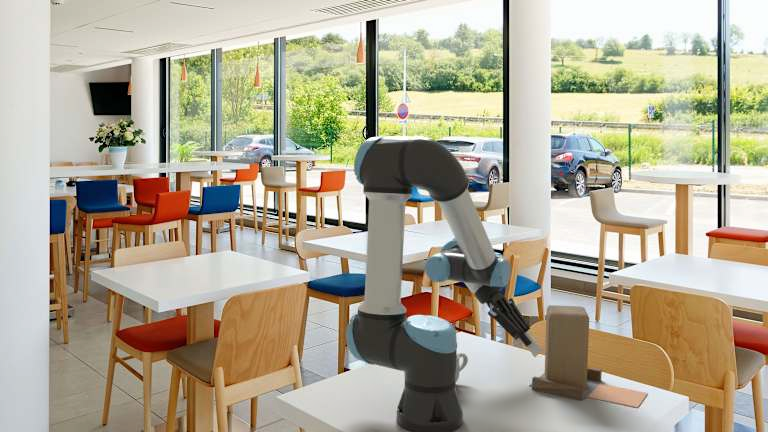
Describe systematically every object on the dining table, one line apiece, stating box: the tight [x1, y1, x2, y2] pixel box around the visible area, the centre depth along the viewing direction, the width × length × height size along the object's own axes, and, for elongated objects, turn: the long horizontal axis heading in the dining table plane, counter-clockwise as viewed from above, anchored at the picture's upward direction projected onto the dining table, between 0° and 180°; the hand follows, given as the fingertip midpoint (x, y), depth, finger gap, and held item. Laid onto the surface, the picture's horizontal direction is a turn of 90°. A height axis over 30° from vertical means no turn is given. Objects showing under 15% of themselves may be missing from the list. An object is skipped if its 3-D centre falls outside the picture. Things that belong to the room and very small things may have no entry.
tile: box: [587, 382, 649, 409], centre depth 168 cm, size 11×12×1 cm
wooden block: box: [544, 305, 590, 390], centre depth 174 cm, size 10×10×20 cm
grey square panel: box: [528, 372, 602, 399], centre depth 175 cm, size 13×15×1 cm
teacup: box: [456, 352, 469, 383], centre depth 174 cm, size 14×11×8 cm
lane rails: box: [531, 366, 603, 401], centre depth 175 cm, size 17×13×3 cm
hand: (539, 353), depth 179 cm, fingers closed
